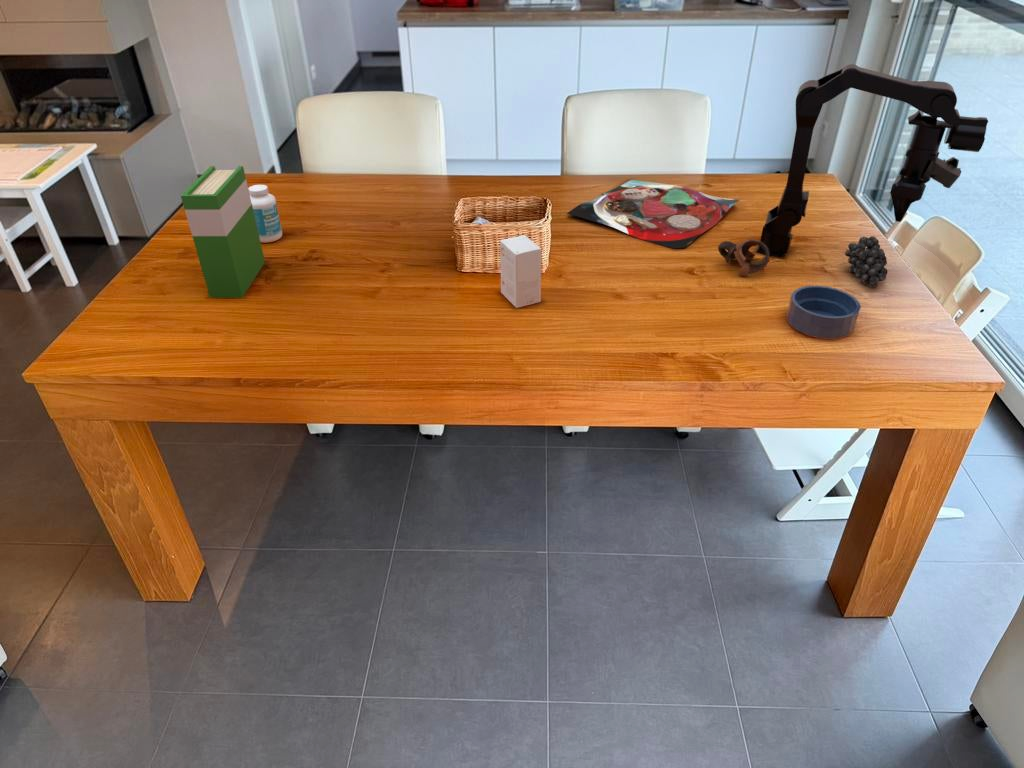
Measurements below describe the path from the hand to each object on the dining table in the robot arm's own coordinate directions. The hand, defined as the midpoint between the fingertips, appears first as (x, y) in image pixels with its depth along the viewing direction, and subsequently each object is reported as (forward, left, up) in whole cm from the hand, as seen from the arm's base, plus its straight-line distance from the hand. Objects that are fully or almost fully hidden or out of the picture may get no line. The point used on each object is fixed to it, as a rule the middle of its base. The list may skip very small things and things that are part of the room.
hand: (901, 214), depth 168 cm
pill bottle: (-140, -63, -13) cm, 154 cm away
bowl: (-7, -35, -13) cm, 38 cm away
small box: (-67, -57, -13) cm, 89 cm away
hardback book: (-129, -83, -13) cm, 154 cm away
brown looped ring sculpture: (-29, -18, -13) cm, 37 cm away
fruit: (-3, -9, -13) cm, 16 cm away
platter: (-60, +3, -13) cm, 62 cm away
